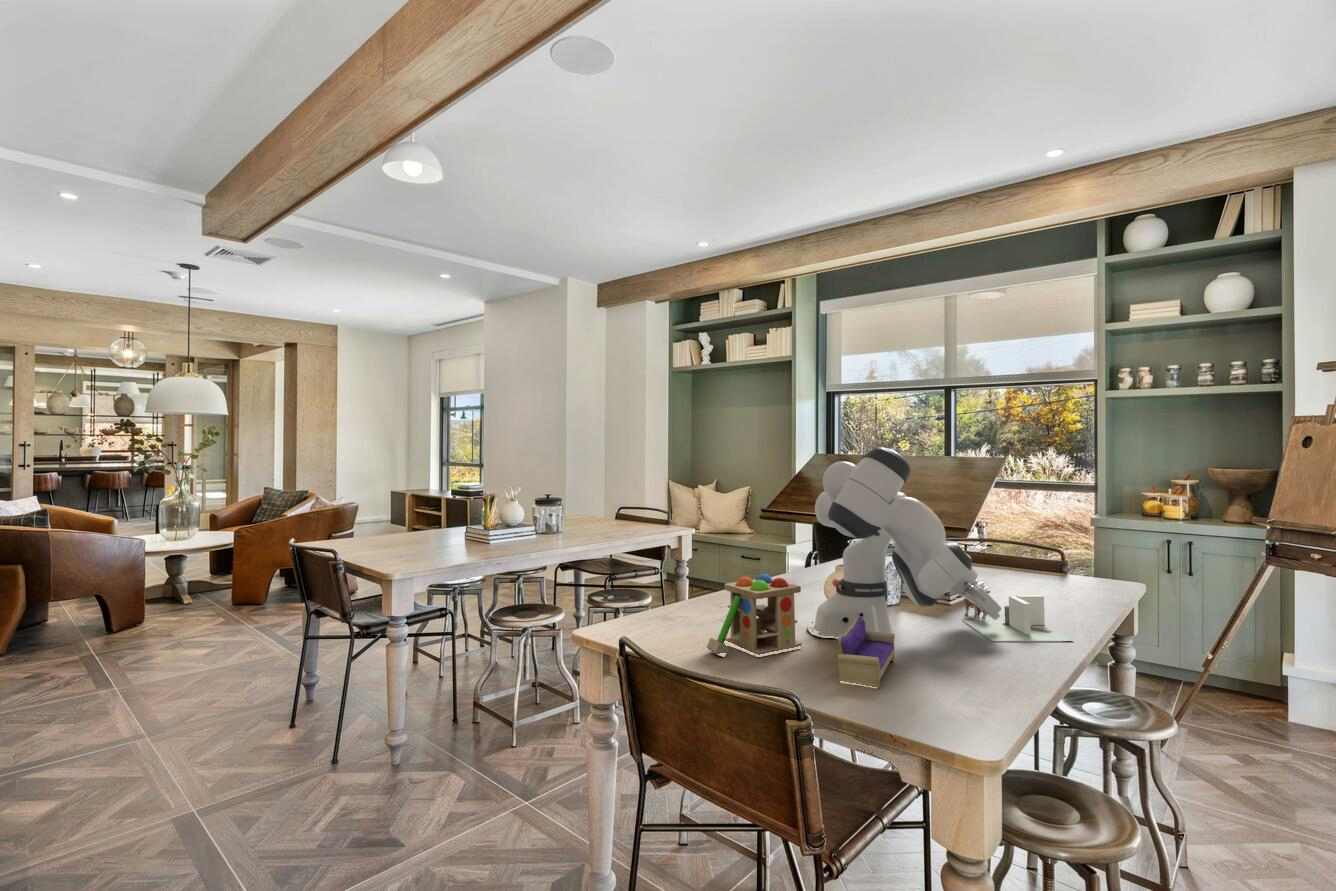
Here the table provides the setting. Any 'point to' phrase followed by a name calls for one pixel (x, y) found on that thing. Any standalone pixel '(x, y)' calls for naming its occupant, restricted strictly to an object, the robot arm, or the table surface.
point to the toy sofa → (864, 654)
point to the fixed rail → (1031, 609)
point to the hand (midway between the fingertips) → (995, 616)
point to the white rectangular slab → (1019, 615)
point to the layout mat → (1015, 632)
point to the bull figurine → (977, 610)
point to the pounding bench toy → (771, 618)
